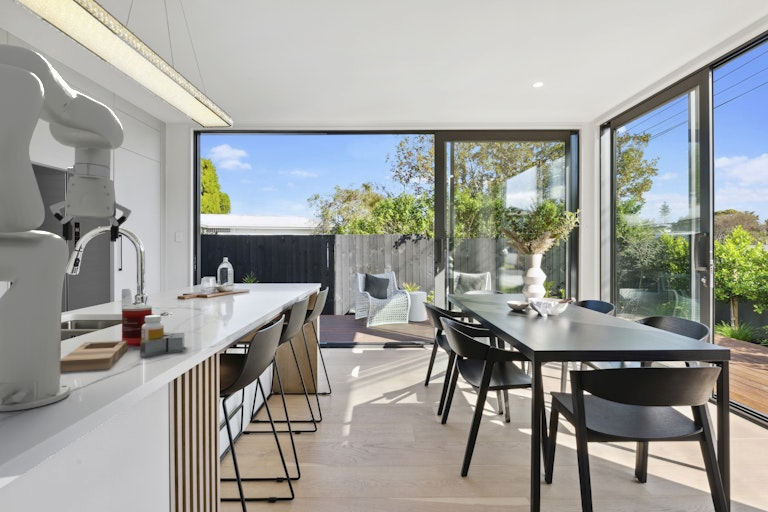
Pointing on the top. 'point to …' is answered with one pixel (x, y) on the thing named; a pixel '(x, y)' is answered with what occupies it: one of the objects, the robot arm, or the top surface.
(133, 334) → the canned food
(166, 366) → the top surface
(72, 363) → the wooden board with cutout
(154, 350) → the v block
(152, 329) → the supplement bottle
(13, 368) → the robot arm
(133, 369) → the top surface
